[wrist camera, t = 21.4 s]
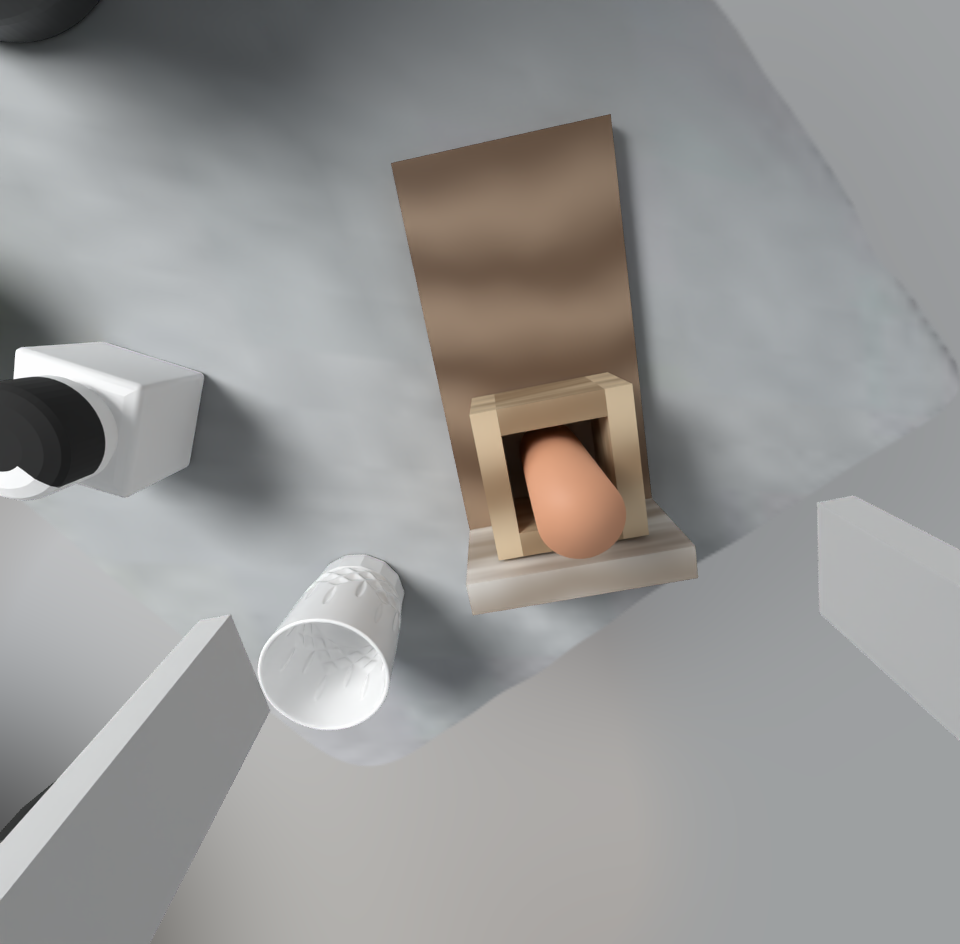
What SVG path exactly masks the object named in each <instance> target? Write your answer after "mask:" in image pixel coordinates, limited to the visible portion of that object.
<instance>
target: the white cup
mask: <svg viewBox="0 0 960 944" xmlns="http://www.w3.org/2000/svg"><path fill="white" fill-rule="evenodd" d="M403 598H404V590H403V587H402V584H401V581H400V579H399V576H398V574H397V573H396V572H395V571H394V570H393V569H392V568H391V567H390V566H389V565H388V564H387V563H386V562H384V561H382V560H379V559H377V558H374V557H372V556H369V555H366V554H361V555H345V556H343V557H342V558H340V559H338V560H336V561H334V562H332V563H330V564H329V565H328V566H327V567H326V569H325V570H324V572H323V573H322V574H321V576H320V577H319V578H318V579H317V580H316V581H315V582H314V583H313V584H311V586H310V587H309V588H308V589H307V591H306V592H305V593H304V594H303V595H302V597H301V598H300V599H299V600H298V602H297V603H296V604H295V605H294V607H293V608H292V609H291V611H290V612H289V613H288V615H287V616H286V617H285V619H284V620H283V621H282V623H281V624H280V625H279V627H278V628H277V629H276V631H275V632H274V633H273V635H272V636H271V637H270V638H269V640H268V641H267V642H266V644H265V646H264V647H263V649H262V651H261V654H260V657H259V662H258V677H259V682H260V685H261V688H262V690H263V692H264V694H265V696H266V698H267V699H268V701H269V702H270V703H271V704H272V706H273V707H274V708H275V709H276V710H277V711H278V712H280V713H281V714H282V715H283V716H285V717H286V718H288V719H290V720H291V721H293V722H295V723H297V724H300V725H302V726H305V727H308V728H312V729H318V730H342V729H347V728H351V727H354V726H356V725H359V724H361V723H363V722H365V721H366V720H368V719H369V718H370V717H372V716H373V715H374V714H375V713H376V712H377V711H378V710H379V709H380V707H381V706H382V704H383V703H384V701H385V699H386V697H387V694H388V691H389V686H390V681H391V675H392V670H393V665H394V660H395V655H396V650H397V645H398V637H399V632H400V625H401V611H402V604H403Z"/></svg>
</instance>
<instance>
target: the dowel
mask: <svg viewBox="0 0 960 944" xmlns="http://www.w3.org/2000/svg"><path fill="white" fill-rule="evenodd" d="M519 454H520V459H521V463H522V467H523V471H524V475H525V479H526V484H527V488H528V492H529V496H530V500H531V504H532V509H533V513H534V517H535V521H536V525H537V529H538V532H539V535H540V537H541V538H542V540H543V542H544V543H545V544H546V545H547V546H548V547H549V548H550V549H551V550H553V551H554V552H556V553H557V554H559V555H561V556H564V557H568V558H573V559H585V558H590V557H594V556H597V555H599V554H601V553H603V552H605V551H606V550H608V549H609V548H610V547H611V546H612V545H614V544H615V542H616V541H617V540H618V539H619V537H620V535H621V534H622V531H623V529H624V526H625V522H626V508H625V504H624V501H623V498H622V496H621V495H620V493H619V492H618V490H617V489H616V488H615V486H614V485H613V484H612V483H611V481H610V480H609V479H608V477H607V476H606V475H605V474H604V472H603V471H602V470H601V468H600V467H599V466H598V464H597V463H596V462H595V461H594V459H593V458H592V457H591V455H590V454H589V453H588V451H587V450H586V449H585V448H584V446H583V445H582V444H581V442H580V441H579V440H578V438H577V437H576V436H575V435H574V433H573V432H572V431H571V430H570V429H569V428H568V427H567V426H566V425H564V424H562V425H557V426H552V427H546V428H541V429H536V430H530V431H526V432H525V434H524V435H523V437H522V439H521V442H520V447H519Z"/></svg>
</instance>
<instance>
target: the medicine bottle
mask: <svg viewBox="0 0 960 944" xmlns="http://www.w3.org/2000/svg"><path fill="white" fill-rule="evenodd" d="M203 382H204V375H203V374H202V373H201V372H198V371H195V370H192V369H189V368H186V367H182V366H179V365H176V364H173V363H170V362H167V361H163V360H160V359H157V358H154V357H151V356H148V355H144V354H141V353H138V352H135V351H132V350H129V349H125V348H122V347H119V346H116V345H113V344H110V343H106V342H90V343H76V344H62V345H47V346H33V347H21V348H19V349H17V350H16V352H15V365H14V379H11V380H3V381H0V496H2V497H5V498H9V499H14V500H24V501H25V500H35V499H40V498H43V497H45V496H48V495H50V494H53V493H55V492H58V491H60V490H62V489H65V488H67V487H70V486H72V485H74V484H79V485H83V486H86V487H89V488H93V489H96V490H100V491H103V492H106V493H110V494H113V495H117V496H120V497H129V496H131V495H133V494H135V493H137V492H139V491H141V490H143V489H145V488H146V487H148V486H150V485H152V484H154V483H156V482H158V481H160V480H162V479H164V478H166V477H168V476H170V475H172V474H174V473H176V472H178V471H180V470H182V469H184V468H186V467H188V465H189V463H190V458H191V452H192V446H193V440H194V435H195V429H196V423H197V417H198V411H199V406H200V400H201V394H202V388H203Z"/></svg>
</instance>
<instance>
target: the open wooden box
mask: <svg viewBox="0 0 960 944" xmlns="http://www.w3.org/2000/svg"><path fill="white" fill-rule="evenodd" d="M469 415H470V420H471V425H472V430H473V435H474V440H475V445H476V450H477V455H478V460H479V465H480V470H481V475H482V480H483V485H484V490H485V495H486V500H487V505H488V510H489V515H490V519H491V524H492V529H493V534H494V539H495V544H496V549H497V554H498V559H499V560H505V559H511V558H517V557H523V556H528V555H534V554H540V553H546V552H552V551H553V550H551V549H550V548H549V547H548V546H547V545H546V544H545V543H544V542H543V540H542V538H541V537H540V535H539V532H538V529H537V525H536V521H535V517H534V513H533V509H532V504H531V500H530V497H524V498H519V499H514V497H513V492H512V486H511V481H510V476H509V470H508V465H507V460H506V454H505V449H504V443H503V438H502V436H504V435H509V434H514V433H520V432H525V431H530V430H536V429H541V428H546V427H552V426H557V425H562V424H568V423H573V422H578V421H584V420H589V419H591V426H592V434H593V441H594V448H595V456H596V463H597V464H598V466H599V467H600V468H601V470H602V471H603V472H604V474H605V475H606V476H607V477H608V479H609V480H610V481H611V483H612V484H613V485H614V486H615V488H616V489H617V490H618V492H619V493H620V495H621V496H622V498H623V501H624V504H625V508H626V522H625V526H624V529H623V531H622V534H621V535H620V537H619V539H618V540H621V539H627V538H633V537H639V536H645V535H649V530H648V521H647V512H646V503H645V494H644V484H643V475H642V466H641V457H640V448H639V439H638V430H637V421H636V412H635V403H634V394H633V385H632V383H629V382H627V381H625V380H623V379H621V378H619V377H617V376H615V375H612V374H610V373H608V372H606V373H601V374H596V375H591V376H585V377H580V378H575V379H570V380H565V381H559V382H554V383H549V384H544V385H539V386H533V387H528V388H523V389H518V390H513V391H507V392H502V393H497V394H492V395H487V396H481V397H476V398H472V402H471V408H470V414H469Z"/></svg>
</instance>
